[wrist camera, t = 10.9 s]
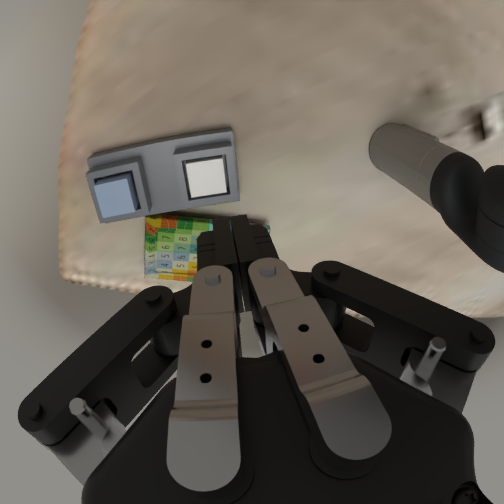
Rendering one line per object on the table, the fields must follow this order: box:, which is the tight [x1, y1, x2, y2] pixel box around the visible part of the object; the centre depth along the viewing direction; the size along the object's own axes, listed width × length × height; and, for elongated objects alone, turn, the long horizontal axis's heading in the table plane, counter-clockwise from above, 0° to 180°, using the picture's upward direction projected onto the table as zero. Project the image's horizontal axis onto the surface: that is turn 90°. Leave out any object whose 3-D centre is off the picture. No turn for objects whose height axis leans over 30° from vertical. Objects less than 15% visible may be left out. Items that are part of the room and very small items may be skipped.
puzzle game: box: [145, 214, 270, 282], centre depth 52 cm, size 12×5×20 cm
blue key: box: [94, 172, 139, 218], centre depth 40 cm, size 5×5×3 cm
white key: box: [186, 155, 227, 198], centre depth 42 cm, size 5×5×3 cm
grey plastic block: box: [86, 128, 240, 223], centre depth 43 cm, size 22×11×6 cm, turn 94°
